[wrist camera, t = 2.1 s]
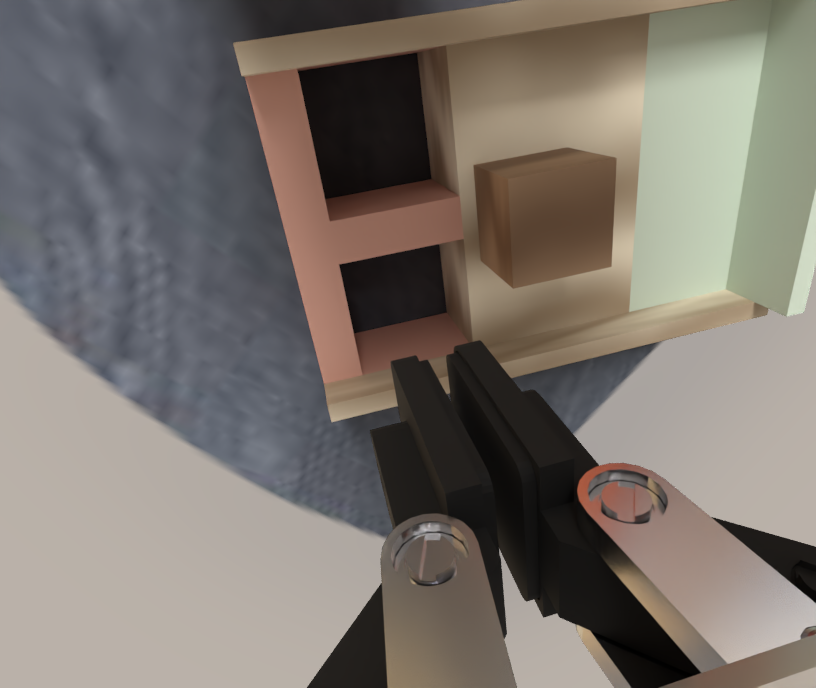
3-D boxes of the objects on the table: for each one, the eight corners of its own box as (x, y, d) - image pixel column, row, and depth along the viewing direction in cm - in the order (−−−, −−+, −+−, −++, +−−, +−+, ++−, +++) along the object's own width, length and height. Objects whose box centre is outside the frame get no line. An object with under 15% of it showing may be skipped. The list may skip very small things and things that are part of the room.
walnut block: (473, 164, 23) (508, 179, 20) (566, 147, 24) (616, 157, 20) (480, 260, 25) (513, 288, 22) (566, 242, 26) (611, 266, 22)
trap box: (245, 54, 24) (227, 38, 16) (713, -17, 27) (895, -60, 19) (321, 356, 31) (335, 447, 23) (679, 274, 34) (799, 330, 26)
